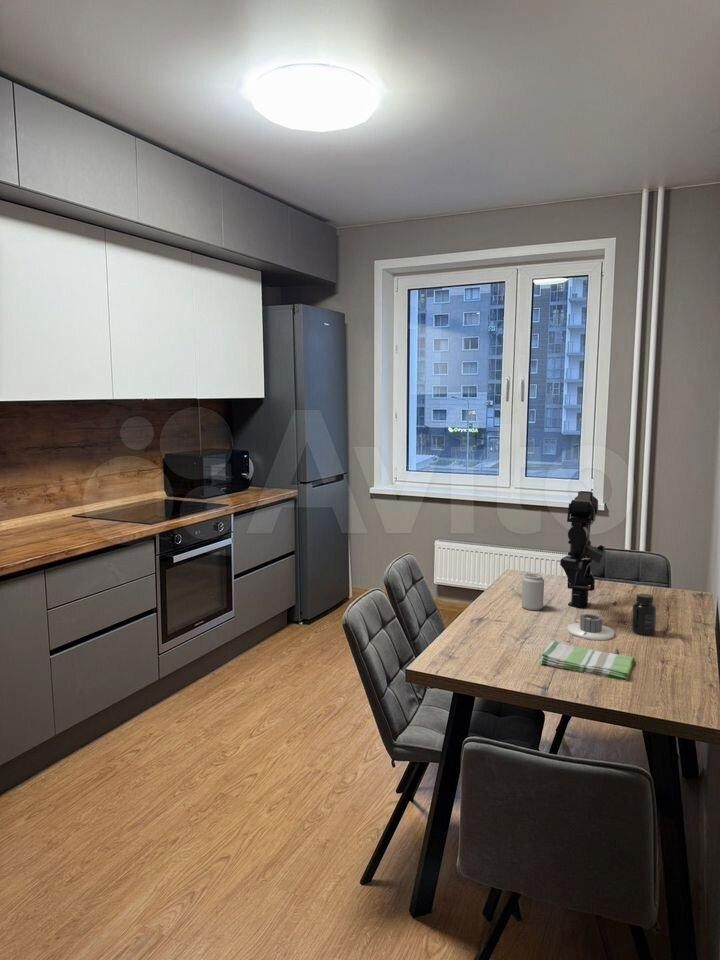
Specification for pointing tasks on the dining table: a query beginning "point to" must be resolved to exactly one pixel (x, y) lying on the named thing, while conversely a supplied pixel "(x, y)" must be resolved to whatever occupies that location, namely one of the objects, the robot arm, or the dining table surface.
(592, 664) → the dish towel
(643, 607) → the supplement bottle
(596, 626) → the grey segmented ring
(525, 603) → the can
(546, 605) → the dining table surface
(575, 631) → the shaft hub
